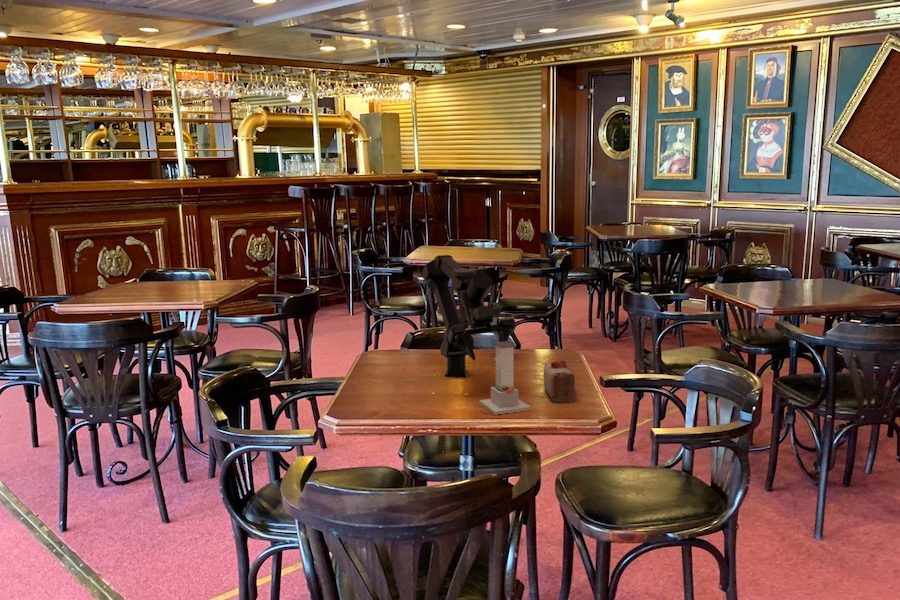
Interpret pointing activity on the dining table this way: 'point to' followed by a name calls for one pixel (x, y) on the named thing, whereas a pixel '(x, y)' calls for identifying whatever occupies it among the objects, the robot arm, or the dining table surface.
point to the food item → (559, 381)
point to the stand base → (504, 402)
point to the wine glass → (497, 320)
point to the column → (504, 365)
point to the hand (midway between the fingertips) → (490, 357)
